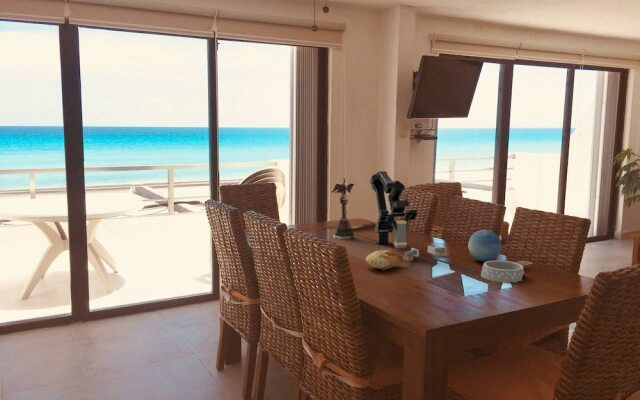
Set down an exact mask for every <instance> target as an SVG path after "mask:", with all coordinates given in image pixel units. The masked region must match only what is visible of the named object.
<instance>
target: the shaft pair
mask: <svg viewBox="0 0 640 400" xmlns="http://www.w3.org/2000/svg"><path fill="white" fill-rule="evenodd" d="M404 253H405V254H402V259H404V262H406V260H407V261H408V262H412V261H414V256H415V257H416V258H417V257H419V255H420V250H419V249H417V248H415V247H411V248H410V250H408V251H404ZM427 254H432V255H436V256H437V257H440V258H442V257H447V252H446V248H445V247H444V246H443V247H441V246H440V247H434V246H431V245H427ZM403 256H404V257H403ZM405 256H406V257H405ZM407 256H408V257H407Z"/></svg>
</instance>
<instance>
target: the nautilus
mask: <svg viewBox="0 0 640 400" xmlns="http://www.w3.org/2000/svg"><path fill="white" fill-rule="evenodd" d="M400 252H401V251H400V250H399V251H398V254H397V252H395V251H392V250H386V249H383V250H376V251H373V252H371V253H369V254H368V255H367V256H366V258H365V261H366V262H367V264H368V265H369V266H370V267H373V269H374V268H375V269H380V270H381V271H386V270H388V269H392V268H393V267H396V266H397V267H401V268H403V266H405V263H408V264H410V263H411V262H409V261H407V260H406V261H405V260H404V259H403V257H404V256H403V255H404V254H405V253H400ZM398 256H399V257H398ZM400 257H402V258H400ZM405 257H406V256H405ZM407 257H408V256H407ZM400 263H401V264H400ZM402 263H403V264H402Z"/></svg>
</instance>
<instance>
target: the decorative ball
mask: <svg viewBox="0 0 640 400" xmlns="http://www.w3.org/2000/svg"><path fill="white" fill-rule="evenodd" d="M467 247H468V251H469V254H470V255H471V256H472V257H473V258H474V259H475V260H477V261H479V262H482V263H485V262H487V261H495V260H496V259H497V258H498V257H499V255H500V253H501V251H502V242H501V238H500V237H499V236H498V234H496V233H495V232H494V231H491V230H489V229H481V230H478V231H475V232H474V233H473V234H472V235H471V237H470V238H469V241H468V244H467Z"/></svg>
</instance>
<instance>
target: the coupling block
mask: <svg viewBox="0 0 640 400" xmlns="http://www.w3.org/2000/svg"><path fill="white" fill-rule="evenodd" d="M395 223H396V226H397V230H395V229H394V228H393V235H394V236H393V238H394V240H393V244H394V245H393V246H394V248H396V249H406V248H407V245H408V243H407V230H406V224H407V221H404V219H403V220H402V219H401V220H398V219H397V220H395ZM407 225H408V224H407Z"/></svg>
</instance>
